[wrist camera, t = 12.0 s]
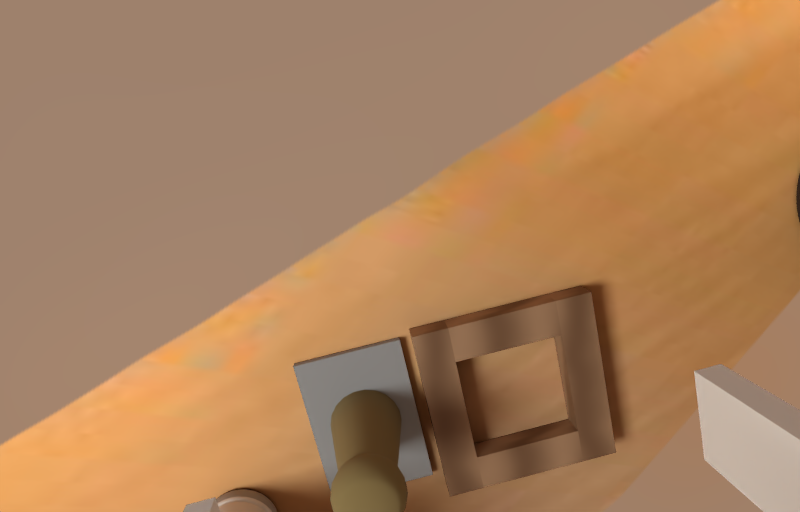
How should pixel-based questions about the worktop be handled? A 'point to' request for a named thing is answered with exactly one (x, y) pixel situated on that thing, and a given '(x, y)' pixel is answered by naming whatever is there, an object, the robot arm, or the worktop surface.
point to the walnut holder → (504, 329)
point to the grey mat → (356, 372)
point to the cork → (367, 454)
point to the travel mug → (244, 502)
